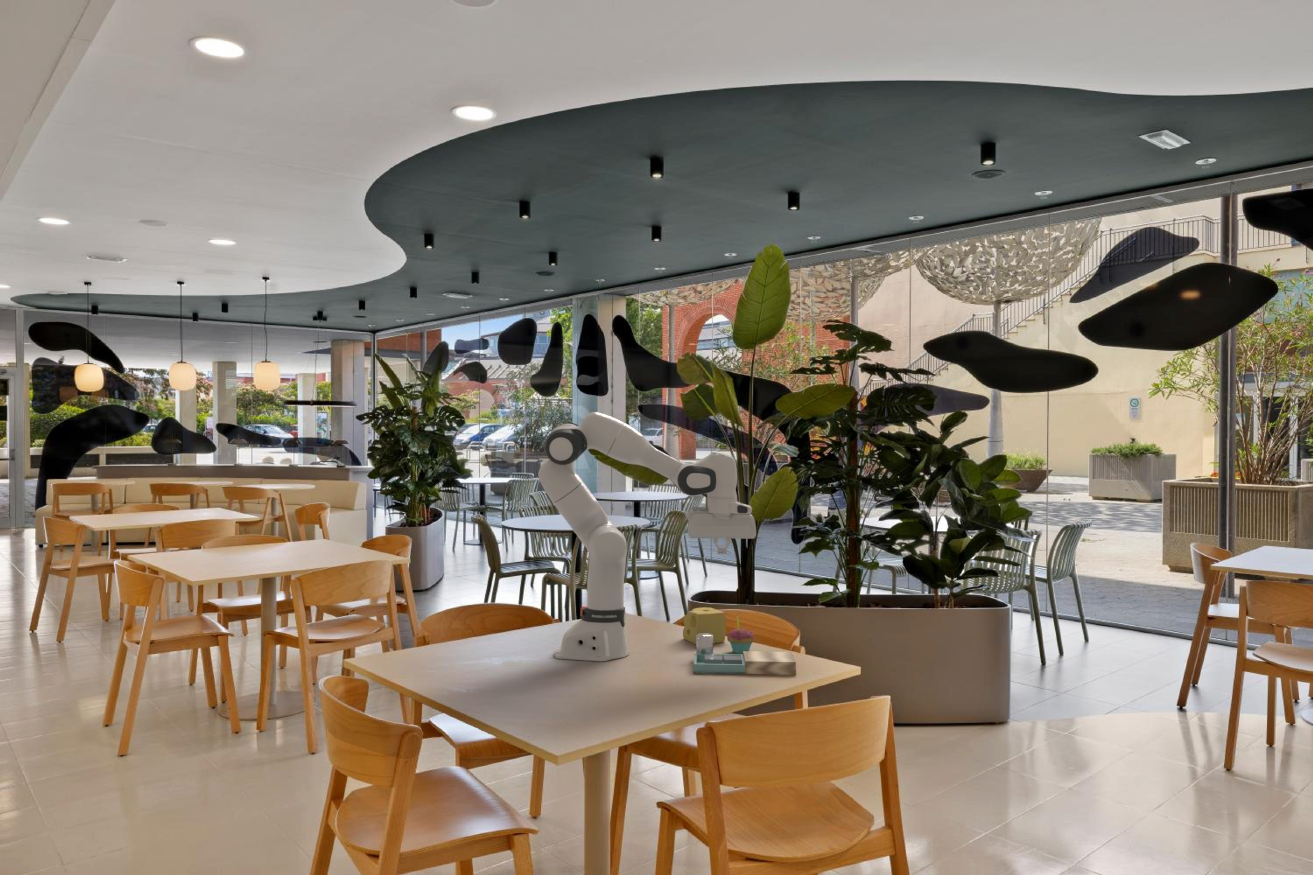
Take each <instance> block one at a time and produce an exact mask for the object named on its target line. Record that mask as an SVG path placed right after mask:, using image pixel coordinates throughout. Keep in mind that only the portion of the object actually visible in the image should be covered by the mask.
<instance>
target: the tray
mask: <svg viewBox="0 0 1313 875" xmlns="http://www.w3.org/2000/svg"><path fill="white" fill-rule="evenodd" d="M705 655H722V664H705ZM723 655H728V656H741V658H742V664H723ZM693 674H727V675H729V674H730V675H733V674H734V675H746V674H745V661H744V656H743V654H737V653H713V654H696V653H694V656H693Z"/></svg>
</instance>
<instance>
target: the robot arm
mask: <svg viewBox="0 0 1313 875" xmlns="http://www.w3.org/2000/svg"><path fill="white" fill-rule="evenodd" d="M588 449H591V450H596V451H598V452H600V453H602V454H604V455H605V456H607V457H609V458H610V459H611V458H612V459H614V460H616V461H618V462H621V463H625V464H629V465H637V466H641V467H642V466H643V467H646V468H648V469H650V470H652V471H653V472H655V473H657V474H660V475H661V476H663V477H665V478H667V479H669V480H670V481H671V482H672V483H673V485H674V486H675V487H676V488H677V490H678V491H679V492H680V493H682V494H684V495H686V496H689V497H698V496H700V495H704V494H706V496H707V503H706V504H707V506H693V507H692V508H691V507H690V508H689V509H688V510H687V513H686V516H687V518H686V519H687V520H688V522H689V523H688V529H687V530H688V532H687V535H688V537H689V538H690V539H713V543H714V545H715V547H716V554H717V555H718V554H719V555H720V554H721V555H722V554H724V555H727V554H728V547H729V546H730V544H731V543H732V542H731V540H732V539H740V540H741V539H745V540H746V539H749V540H750V539H751V540H752V539H755V538H756V537H757V527H756V521H755V517H754V516H753V515H752V511H753V507H752V506H751V505H748V504H745V503H743V502H740V501H738V495H737V491H736V489H737V485H738V468H737V462H736V459H735V458H734V456H732V455H730V454H727V453H720V452H710V453H709V454H708V455H707V456H705V457H703V458H702V459H700V460H696V461H695V462H691V461H682V460H678V459H676V458H674V457H672V456H671V455H668V453H667V454H666V453H665V452H663V451H661V450H659V449H657V448H656V447H655V446H653V445H652V444H651V443H650V442H649V441H648V439H647V438H646V437H645V436H644V434H642V433H641V432H640V431H638V430H637V429H636V428H634V427H633V426H632V425H630V424H627V423H626V422H624V421H622V420H620V419H618V418H615V417H614V416H611V415H609V414H606V413H602V412H598V411H592V412H590V413H588V414H586V416H585V417H584V418H583V420H582V422H581V423H580V424H579V425H578V424H577V423H574V422H563V423H561V424H559V425H557V426H556V427H554V428H552V430H551V431H550V432H549V434H548V435H547V437H546V439H545V442H544V453H545V454H546V456H547V458H548V459H547V461H545V463H543V464H542V465H541V466H540V469H539V470H538V479H539V481H540V484H541V486H542V488H543V489H544V492H545V493H546V494H547V496H548V498H549V499H550V501H551V502H552V503H553V505H554V506H555V507H556V509H557V510H558V512H559V513H560V514H561V516H562V517H563V519H564V520H565V521H566V523H567V524H568V525H569V526H570V529H572V531H573V532H574V534H576V536H577V538H578V539H579V540H580V542H581V543H582V544H583V546H584V547H585V548H586V550H587V552H588V554H589V556H588V571H587V572H588V574H587V584H586V587H587V588H586V589H587V590H586V592H587V593H586V594H587V595H586V600H587V602H586V603H587V604H586V605H583V606H582V607H581V608H580V616H579V617H580V620H579V621H577V622H576V623H574V625H572V626H571V627H570V628H568V629H567V630H566V631H565V632H564V634H563V636H562V639H561V644H560V646H558V647H557V648H555V649H554V651H553V657H554V658H556V659H560V660H576V661H587V662H588V661H591V662H593V661H594V662H607V661H609V660H614V659H621V658H625V657H627V656H628V655H629V654H630V652H629V650H628V649H629V648H628V645H627V639H626V633H625V632H626V630H625V626H626V614H627V612H626V607H625V604H624V602H625V600H624V599H625V596H624V593H625V592H624V590H625V574H626V573H625V572H626V561H627V539H626V537H625V535H624V534H623V532H621V530H619V529H618V528H617V527H616V526H615V525H614V523H613V522H612V521H611V519H610V518H609V516H608V515H607V513H606V512H605V510H604V509H603V508H602V506H601V504H600V502H598V500H597V499H596V497H595V496H594V495H593V493H592V491H591V490H590V488H589V487H587V485H586V484H585V482H584V481H583V479H582V478H581V477H580V476H579V474H578V473H577V471H576V469H575V466H574V463H575V461H577V459H579V458H580V456H582V455H583V453H585V452H586V451H587V450H588ZM719 539H725V542H726V544H725V545H724V546H719V544H718V543H719Z"/></svg>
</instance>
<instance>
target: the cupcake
mask: <svg viewBox="0 0 1313 875" xmlns="http://www.w3.org/2000/svg"><path fill="white" fill-rule="evenodd" d="M735 619H736V627H737V628H735V629H732V630H730V631H729V632H728V633H727V634H726V637H727V638H726V639H727V642H729V644H730V646H731V649H732V652H733V654H743V651H750V648H751V646H752V644H753V643H754V642H755V639H756V638H755V634H754V633H753V632H751V631H750V630H749V629H746V628H740V618H739V616H738V614H736V618H735Z"/></svg>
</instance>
